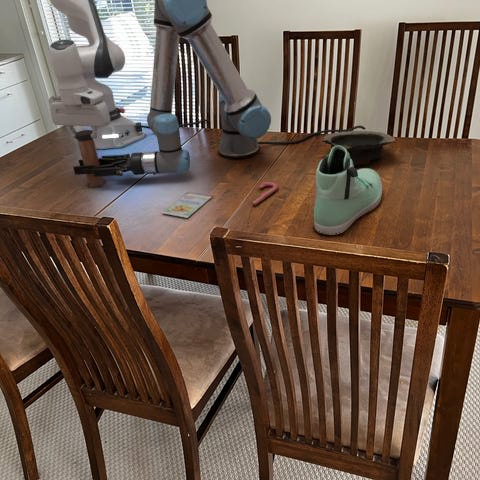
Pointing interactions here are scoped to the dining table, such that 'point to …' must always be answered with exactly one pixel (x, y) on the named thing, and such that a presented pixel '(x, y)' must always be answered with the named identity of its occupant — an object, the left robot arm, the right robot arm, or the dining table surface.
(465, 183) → the dining table surface
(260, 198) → the candy cane
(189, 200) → the baking ingredient package
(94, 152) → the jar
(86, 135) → the lid
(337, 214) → the sneaker
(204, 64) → the right robot arm
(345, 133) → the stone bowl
